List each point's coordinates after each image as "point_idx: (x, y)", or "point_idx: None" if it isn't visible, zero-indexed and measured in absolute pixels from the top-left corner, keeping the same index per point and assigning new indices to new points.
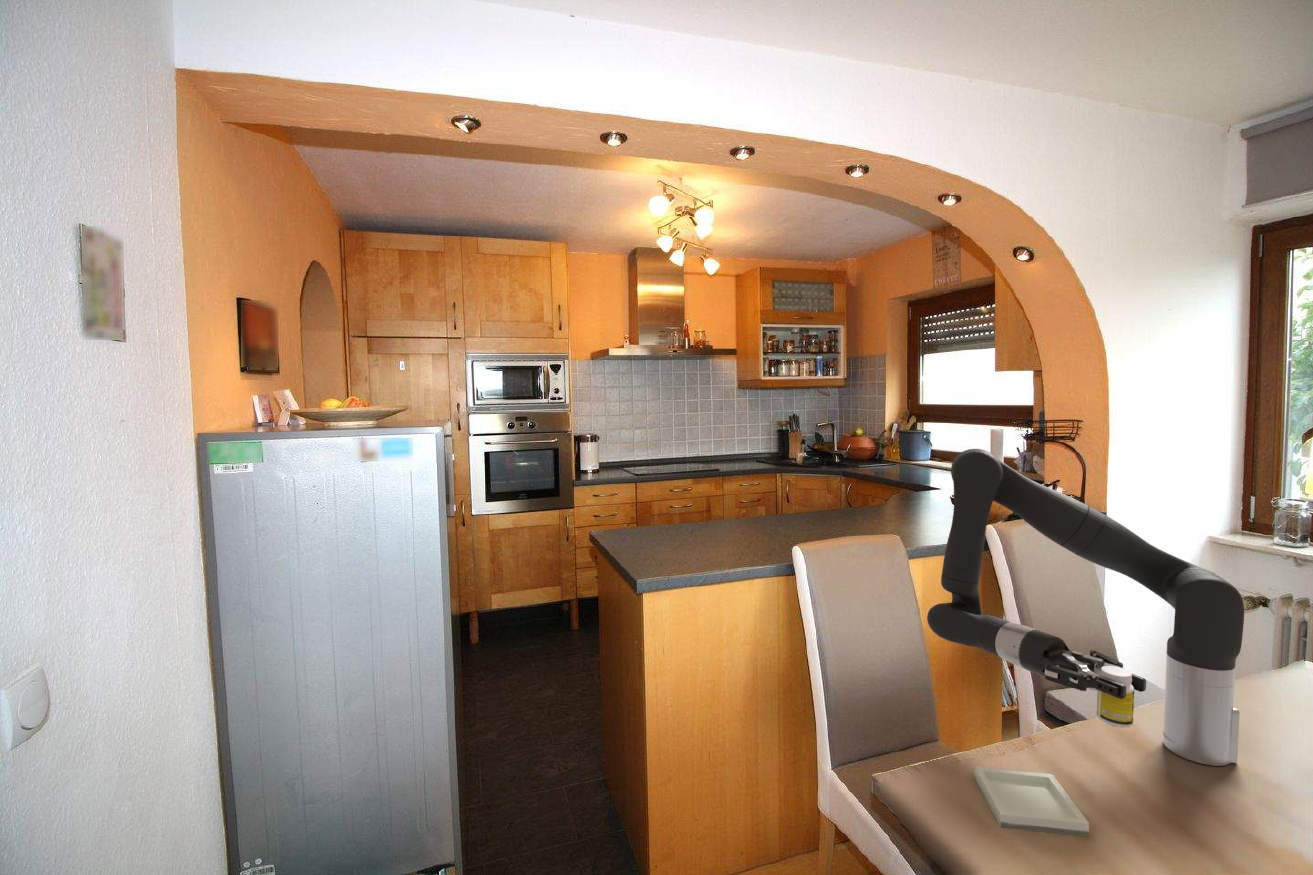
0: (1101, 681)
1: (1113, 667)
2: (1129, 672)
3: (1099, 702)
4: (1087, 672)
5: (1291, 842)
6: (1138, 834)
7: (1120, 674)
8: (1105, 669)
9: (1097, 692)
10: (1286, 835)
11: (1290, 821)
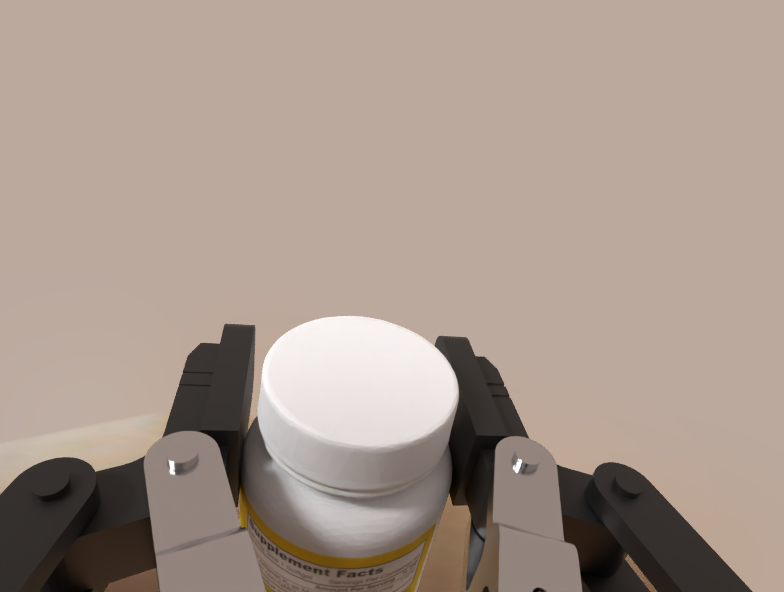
0: (512, 424)
1: (320, 400)
2: (301, 331)
3: (419, 581)
4: (550, 496)
5: (130, 430)
6: (433, 575)
7: (397, 340)
8: (419, 410)
9: (398, 590)
10: (104, 441)
11: (14, 456)
